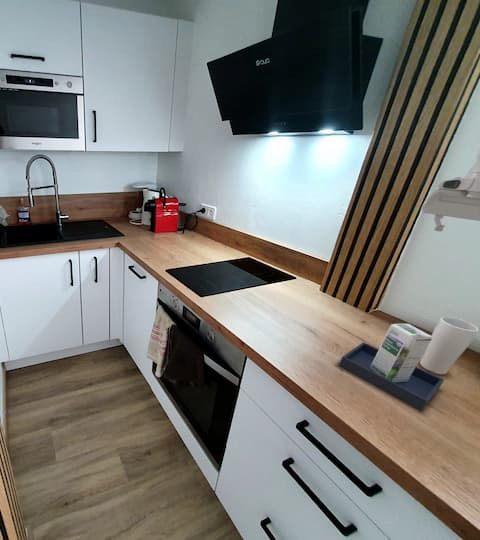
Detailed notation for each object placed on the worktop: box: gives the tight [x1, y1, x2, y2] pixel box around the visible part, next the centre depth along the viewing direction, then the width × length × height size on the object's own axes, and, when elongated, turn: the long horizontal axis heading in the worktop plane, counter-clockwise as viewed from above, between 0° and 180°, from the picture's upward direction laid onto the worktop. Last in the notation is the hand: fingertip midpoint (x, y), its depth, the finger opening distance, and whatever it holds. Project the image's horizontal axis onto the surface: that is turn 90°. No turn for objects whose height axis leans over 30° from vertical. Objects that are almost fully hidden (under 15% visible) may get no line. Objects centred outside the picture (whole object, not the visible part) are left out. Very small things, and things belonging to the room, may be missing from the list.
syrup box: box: [370, 323, 433, 383], centre depth 73 cm, size 6×6×14 cm
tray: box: [338, 341, 445, 412], centre depth 75 cm, size 17×13×3 cm
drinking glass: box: [419, 316, 479, 375], centre depth 76 cm, size 7×7×15 cm
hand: (460, 234), depth 81 cm, fingers open, 8 cm apart
